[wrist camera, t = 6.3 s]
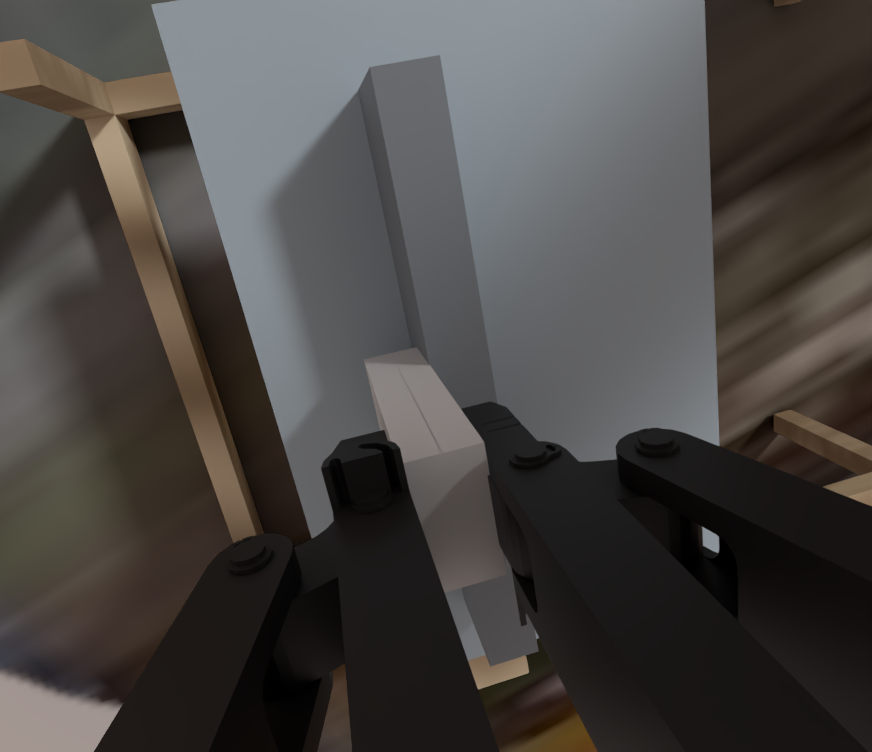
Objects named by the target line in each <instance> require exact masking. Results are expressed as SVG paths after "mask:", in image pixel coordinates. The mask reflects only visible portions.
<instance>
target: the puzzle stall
mask: <svg viewBox="0 0 872 752" xmlns="http://www.w3.org/2000/svg"><path fill="white" fill-rule="evenodd" d="M800 1H802V0H774V7H777V6H783V5H789V4H795V3H797V2H800ZM0 93H3V94H6V95H9V96H12V97H15V98H19V99H22V100H25V101H28V102H31V103H34V104H37V105H40V106H43V107H46V108H49V109H52V110H55V111H58V112H61V113H64V114H67V115H70V116H73V117H76V118H79V119H82V120H84V121H85V124H86V127H87V130H88V133H89V135H90V138H91V141H92V144H93V147H94V150H95V152H96V155H97V158H98V161H99V164H100V167H101V169H102V172H103V175H104V178H105V181H106V184H107V186H108V189H109V192H110V195H111V198H112V201H113V203H114V206H115V209H116V212H117V215H118V218H119V220H120V223H121V226H122V229H123V232H124V235H125V237H126V240H127V243H128V246H129V249H130V252H131V254H132V257H133V260H134V263H135V266H136V269H137V271H138V274H139V277H140V280H141V283H142V286H143V288H144V291H145V294H146V297H147V300H148V303H149V305H150V308H151V311H152V314H153V317H154V320H155V322H156V325H157V328H158V331H159V334H160V337H161V339H162V342H163V345H164V348H165V351H166V354H167V356H168V359H169V362H170V365H171V368H172V371H173V373H174V376H175V379H176V382H177V385H178V388H179V390H180V393H181V396H182V399H183V402H184V405H185V407H186V410H187V413H188V416H189V419H190V422H191V424H192V427H193V430H194V433H195V436H196V439H197V441H198V444H199V447H200V450H201V453H202V456H203V458H204V461H205V464H206V467H207V470H208V473H209V475H210V478H211V481H212V484H213V487H214V490H215V492H216V495H217V498H218V501H219V504H220V507H221V509H222V512H223V515H224V518H225V521H226V524H227V526H228V529H229V532H230V535H231V538H232V541H233V543H235V542H237V541H239V540H240V541H241V540H242V539H243V538H246V537H249V536H256V535H260V534H264V532H263V529H262V526H261V523H260V520H259V517H258V513H257V510H256V507H255V504H254V501H253V498H252V495H251V492H250V489H249V486H248V483H247V480H246V477H245V474H244V471H243V468H242V465H241V462H240V459H239V456H238V453H237V450H236V447H235V444H234V441H233V438H232V435H231V432H230V429H229V426H228V423H227V420H226V417H225V414H224V411H223V408H222V405H221V402H220V399H219V396H218V393H217V390H216V386H215V383H214V380H213V377H212V374H211V371H210V368H209V365H208V362H207V359H206V356H205V353H204V350H203V347H202V344H201V341H200V338H199V335H198V332H197V329H196V326H195V323H194V320H193V317H192V314H191V311H190V308H189V305H188V302H187V299H186V296H185V293H184V290H183V287H182V284H181V281H180V278H179V275H178V272H177V269H176V266H175V263H174V259H173V256H172V253H171V250H170V247H169V244H168V241H167V238H166V235H165V232H164V229H163V226H162V223H161V220H160V217H159V214H158V211H157V208H156V205H155V202H154V199H153V196H152V193H151V190H150V187H149V184H148V181H147V178H146V175H145V172H144V169H143V166H142V163H141V160H140V157H139V154H138V151H137V148H136V145H135V142H134V139H133V136H132V132H131V129H130V126H129V123H128V120H129V119H135V118H141V117H147V116H152V115H158V114H164V113H170V112H175V111H181V110H183V109H182V105H181V102H180V99H179V95H178V92H177V89H176V85H175V82H174V79H173V76H172V72H165V73H159V74H153V75H147V76H141V77H135V78H129V79H123V80H117V81H111V82H105V83H104V82H102V81H100V80H98V79H96V78H95V77H93V76H91V75H89V74H87V73H86V72H84V71H82V70H80V69H78V68H76V67H75V66H73V65H71V64H69V63H67V62H65V61H64V60H62V59H60V58H58V57H56V56H54V55H53V54H51V53H49V52H47V51H45V50H43V49H42V48H40V47H38V46H36V45H34V44H32V43H31V42H29V41H27V40H25V39H20V40H13V41H7V42H0ZM774 432H776V433H778V434H780V435H782V436H784V437H786V438H788V439H790V440H792V441H794V442H796V443H798V444H800V445H802V446H804V447H805V448H807V449H809V450H811V451H813V452H815V453H817V454H819V455H821V456H823V457H825V458H827V459H829V460H831V461H833V462H835V463H837V464H839V465H841V466H843V467H845V468H847V469H849V470H851V471H853V472H855V473H857V474H858V475H860V476H857V477H853V478H850V479H847V480H844V481H840V482H837V483H834V484H830V485H827V486H824V488H826V489H829V490H831V491H834V492H836V493H839V494H842V495H844V496H847V497H849V498H852V499H854V500H857V501H859V502H862V503H864V504H867V505H869V506H872V446H871V445H868V444H866V443H864V442H862V441H860V440H857V439H855V438H853V437H851V436H848V435H846V434H844V433H842V432H839V431H837V430H835V429H833V428H830V427H828V426H826V425H824V424H821V423H819V422H817V421H815V420H813V419H810V418H808V417H806V416H804V415H801V414H799V413H797V412H795V411H792V410H787V411H784V412H780V413H777V414H774Z"/></svg>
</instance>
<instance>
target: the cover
mask: <svg viewBox="0 0 872 752" xmlns="http://www.w3.org/2000/svg"><path fill="white" fill-rule="evenodd" d="M151 6H152V9H153V12H154V16H155V19H156V22H157V26H158V29H159V32H160V36H161V39H162V42H163V46H164V49H165V52H166V56H167V59H168V62H169V66H170V69H171V72H172V76H173V79H174V82H175V85H176V89H177V92H178V95H179V99H180V102H181V105H182V109H183V112H184V115H185V119H186V122H187V125H188V129H189V132H190V135H191V139H192V142H193V145H194V149H195V152H196V155H197V159H198V162H199V165H200V169H201V172H202V175H203V179H204V182H205V185H206V189H207V192H208V195H209V199H210V202H211V205H212V209H213V212H214V215H215V219H216V222H217V225H218V228H219V232H220V235H221V238H222V242H223V245H224V248H225V252H226V255H227V258H228V262H229V265H230V268H231V272H232V275H233V278H234V282H235V285H236V288H237V292H238V295H239V298H240V302H241V305H242V308H243V312H244V315H245V318H246V322H247V325H248V328H249V332H250V335H251V338H252V342H253V345H254V348H255V352H256V355H257V358H258V361H259V365H260V368H261V371H262V375H263V378H264V381H265V385H266V388H267V391H268V395H269V398H270V401H271V405H272V408H273V411H274V415H275V418H276V421H277V425H278V428H279V431H280V435H281V438H282V441H283V445H284V448H285V451H286V455H287V458H288V461H289V465H290V468H291V471H292V475H293V478H294V481H295V485H296V488H297V491H298V495H299V498H300V501H301V504H302V508H303V511H304V514H305V518H306V521H307V524H308V528H309V531H310V534H311V538H314V537H316V536H317V535H319V534H320V533H321V532H323V531H324V530H325V529H327V528H328V527H329V525H330V524H331V523H332V522H333V521H334V520H333V511H332V507H331V503H330V500H329V496H328V493H327V489H326V485H325V482H324V478H323V474H322V471H321V466H322V464H323V461H324V460H325V459H326V458H327V457H328V456H329V455H330V454H331V453H332V452H333V451H334V449H335V448H336V447H337V445H338V444H339V442H340V441H341V440H345V439H349V438H353V437H357V436H361V435H365V434H369V433H373V432H377V431H380V427H379V423H378V418H377V414H376V410H375V406H374V401H373V397H372V393H371V388H370V384H369V380H368V375H367V371H366V367H365V362H364V359H368V358H372V357H376V356H381V355H385V354H389V353H394V352H398V351H402V350H406V349H411V348H415V347H417V348H418V350H419V351H420V353H421V354H422V355H423V357H424V358H425V360H426V361H427V362H428V364H429V365H430V366H431V367H432V369H433V370H434V371H435V373H436V374H437V376H438V377H439V379H440V380H441V381H442V383H443V384H444V386H445V387H446V389H447V390H448V391H449V393H450V394H451V396H452V397H453V398H454V400H455V401H456V403H457V404H458V406H459V407H460V408H461V409H462V408H466V407H470V406H474V405H478V404H482V403H486V402H490V401H491V402H494V403H497V404H500V405H503V406H505V407H507V408H508V409H509V410H510V412H511V413H512V414H513V415H514V417H516V418H517V419H518V420H519V421H520V422H521V425H523V426H524V427H525V428H526V429H527V430H528V431H529V432H530V433H531V434H532V435H533V437H534V438H535V439H536V440H537V441H547V442H551V443H556V444H559V445H561V446H562V447H564V448H565V449H567V450H568V451H569V452H570V453H571V454H572V455H573V456H574V457H575V458H576V459H577V460H578V461H579V462H590V461H603V460H614V459H617V457H616V445H617V443H618V441H619V439H621V438H622V437H624V436H626V435H627V434H629V433H633V432H636V431H639V430H641V429H646V428H648V429H650V428H661V429H671V430H676V431H680V432H683V433H687V434H689V435H692V436H694V437H697V438H699V439H702V440H704V441H707V442H710V443H712V444H715V445H717V446H719V422H718V391H717V361H716V330H715V300H714V269H713V239H712V208H711V178H710V147H709V117H708V86H707V56H706V25H705V0H178V1H171V2H164V3H158V4H151ZM702 529H703V546H705V547H706V548H708V549H710V550H712V551H714V552H717V553H719V536H717V535H716V534H715V533H713V532H711V531H709V530H707V529H705V528H704V527H702ZM503 556H504V562H505V568H506V573H507V575H504V576H500V577H497V578H494V579H490V580H487V581H483V582H480V583H476V584H473V585H470V586H466V587H463V588H459V589H456V590H452V591H449V592H446V593H445V595H446V598H447V601H448V604H449V607H450V610H451V613H452V616H453V619H454V622H455V624H456V627H457V630H458V633H459V636H460V639H461V642H462V645H463V648H464V651H465V653H466V656H467V659H468V660H471V659H475V658H478V657H481V656H484V655H486V657H487V660H488V662H489V665H490V667H491V666H494V665H497V664H500V663H503V662H507V661H510V660H513V659H516V658H519V657H522V656H525V655H528V654H531V653H535V652H538V646H537V640H536V639H537V638H539V636H538V634H537V633H536V631H535V629H534V627H533V625H532V623H531V621H530V619H529V617H528V615H527V614H526V620H527V625H524V626H521V623H520V618H519V612H518V606H517V600H516V594H515V588H514V582H513V576H512V569H511V565H510V563H509V562H508V560H507V558H506V556H505V554H504V552H503Z"/></svg>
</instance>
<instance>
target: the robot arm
mask: <svg viewBox="0 0 872 752" xmlns="http://www.w3.org/2000/svg"><path fill="white" fill-rule="evenodd" d="M364 362H365V367H366V371H367V375H368V380H369V384H370V388H371V393H372V397H373V401H374V406H375V410H376V414H377V418H378V423H379V427H380V431H377V432H373V433H369V434H365V435H361V436H357V437H353V438H349V439H345V440H341V441H340V442H339V444H338V445H337V447H336V448H335V449H334V451H333V452H332V453H331V454H330V455H329V456H328V457H327V458H326V459H325V460H324V461H323V464H322V466H321V471H322V474H323V478H324V482H325V485H326V489H327V493H328V496H329V500H330V503H331V507H332V511H333V520H334V521H333V522H332V523H331V524H330V525H329V527H328V528H327V529H325V530H324V531H323V532H321V533H320V534H319V535H317V536H316V537H314V538H312V539H310V540H308V541H306V542H304V543H302V544H300V545H298V546H296V547H294V546H293V543H292V542H291V541H290V539H289V538H288V537H287V536H284V535H281V534H278V533H271V534H260V535H256V536H249V537H246V538H243V539H242V540H241V541H240V540H239V541H237V542H235V543H233V544H231V545H230V546H229V547H228V548H226V549H225V550H223V551H222V552H220V553H219V554H218V555H217V556H216V557H215V558H214V559H213V560H212V562H211V563H210V564H209V565H208V567H207V568H206V570H205V572H204V573H203V575H202V577H201V578H200V580H199V582H198V583H197V585H196V586H195V588H194V590H193V591H192V593H191V595H190V596H189V598H188V599H187V601H186V603H185V604H184V606H183V608H182V609H181V611H180V612H179V614H178V616H177V617H176V619H175V621H174V622H173V624H172V625H171V627H170V629H169V630H168V632H167V634H166V635H165V637H164V638H163V640H162V642H161V643H160V645H159V647H158V648H157V650H156V651H155V653H154V655H153V656H152V658H151V660H150V661H149V663H148V664H147V666H146V668H145V669H144V671H143V673H142V674H141V676H140V677H139V679H138V681H137V682H136V684H135V686H134V687H133V689H132V691H131V692H130V694H129V695H128V697H127V699H126V700H125V702H124V704H123V705H122V707H121V708H120V710H119V712H118V713H117V715H116V717H115V718H114V720H113V721H112V723H111V725H110V727H109V728H108V730H107V731H106V733H105V734H104V736H103V738H102V739H101V741H100V743H99V744H98V746H97V748H96V749H95V751H94V752H317V750H318V746H319V742H320V737H321V733H322V729H323V725H324V720H325V716H326V712H327V708H328V703H329V699H330V695H331V691H332V686H333V673H332V671H333V670H334V669H336V668H338V667H339V666H341V665H343V664H344V663H345V667H346V679H347V691H348V703H349V716H350V728H351V740H352V752H499V749H498V746H497V743H496V741H495V738H494V735H493V732H492V729H491V726H490V723H489V720H488V717H487V714H486V712H485V709H484V706H483V703H482V700H481V697H480V694H479V691H478V688H477V685H476V682H475V680H474V677H473V674H472V671H471V668H470V665H469V662H468V659H467V656H466V653H465V651H464V648H463V645H462V642H461V639H460V636H459V633H458V630H457V627H456V624H455V622H454V619H453V616H452V613H451V610H450V607H449V604H448V601H447V598H446V595H445V593H446V592H449V591H452V590H456V589H459V588H463V587H466V586H470V585H473V584H476V583H480V582H483V581H487V580H490V579H494V578H497V577H500V576H504V575H507V573H506V568H505V562H504V556H503V552H504V554H505V556H506V558H507V560H508V562H509V563H510V565H511V569H512V576H513V582H514V588H515V594H516V600H517V606H518V612H519V618H520V623H521V626H524V625H527V620H526V614H527V615H528V617H529V619H530V621H531V623H532V625H533V627H534V629H535V631H536V633H537V634H538V636H539V638H540V640H541V642H542V644H543V646H544V648H545V650H546V652H547V654H548V656H549V658H550V660H551V662H552V664H553V666H554V667H555V669H556V671H557V673H558V675H559V677H560V679H561V681H562V683H563V685H564V687H565V689H566V691H567V693H568V695H569V697H570V699H571V701H572V702H573V704H574V706H575V708H576V710H577V712H578V714H579V716H580V718H581V720H582V722H583V724H584V726H585V728H586V730H587V732H588V734H589V735H590V737H591V739H592V741H593V743H594V745H595V747H596V749H597V751H598V752H872V506H869V505H867V504H864V503H862V502H859V501H857V500H854V499H852V498H849V497H847V496H844V495H842V494H839V493H836V492H834V491H831V490H829V489H826V488H824V487H821V486H819V485H816V484H814V483H811V482H809V481H806V480H803V479H801V478H798V477H796V476H793V475H791V474H788V473H786V472H783V471H781V470H778V469H776V468H773V467H770V466H768V465H765V464H763V463H760V462H758V461H755V460H753V459H750V458H748V457H745V456H743V455H740V454H737V453H735V452H732V451H730V450H727V449H725V448H722V447H720V446H717V445H715V444H712V443H710V442H707V441H704V440H702V439H699V438H697V437H694V436H692V435H689V434H687V433H683V432H680V431H676V430H671V429H661V428H650V429H648V428H646V429H641V430H639V431H636V432H633V433H629V434H627V435H626V436H624V437H622V438H621V439H619V441H618V443H617V445H616V457H617V459H614V460H603V461H590V462H579V461H578V460H577V459H576V458H575V457H574V456H573V455H572V454H571V453H570V452H569V451H568V450H567V449H565V448H564V447H562V446H561V445H559V444H556V443H551V442H547V441H537V440H536V439H535V438H534V437H533V435H532V434H531V433H530V432H529V431H528V430H527V429H526V428H525V427H524V426H523V425H521V422H520V421H519V420H518V419H517V418H516V417H514V415H513V414H512V413H511V412H510V410H509V409H508V408H507V407H505V406H503V405H500V404H497V403H494V402H491V401H490V402H486V403H482V404H478V405H474V406H470V407H466V408H462V409H461V408H460V407H459V406H458V404H457V403H456V401H455V400H454V398H453V397H452V396H451V394H450V393H449V391H448V390H447V389H446V387H445V386H444V384H443V383H442V381H441V380H440V379H439V377H438V376H437V374H436V373H435V371H434V370H433V369H432V367H431V366H430V365H429V364H428V362H427V361H426V360H425V358H424V357H423V355H422V354H421V353H420V351H419V350H418V348H417V347H415V348H411V349H406V350H402V351H398V352H394V353H389V354H385V355H381V356H376V357H372V358H368V359H364ZM702 527H704V528H705V529H707V530H709V531H711V532H713V533H715V534H716V535H717V536H719V553H717V552H714V551H712V550H710V549H708V548H706V547H705V546H703V529H702Z"/></svg>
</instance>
